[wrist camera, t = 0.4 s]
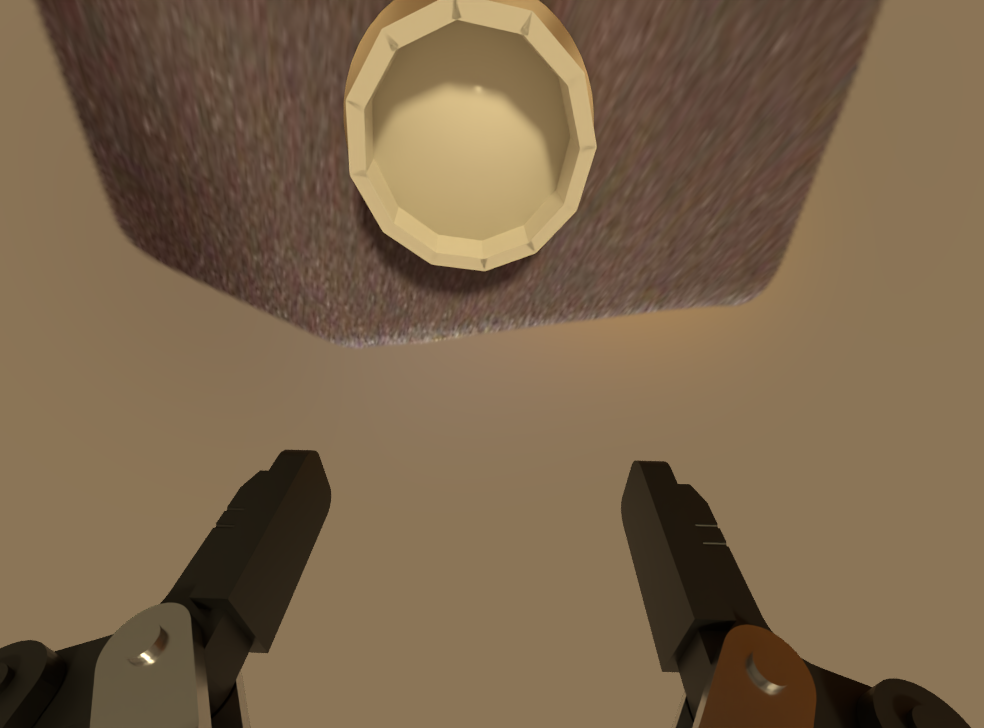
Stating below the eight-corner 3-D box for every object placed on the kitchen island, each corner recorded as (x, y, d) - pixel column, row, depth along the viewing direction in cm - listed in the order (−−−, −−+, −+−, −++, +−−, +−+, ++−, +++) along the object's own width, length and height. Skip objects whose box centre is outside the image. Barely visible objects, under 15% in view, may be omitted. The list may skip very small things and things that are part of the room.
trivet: (303, 160, 29) (300, 164, 28) (442, -122, 20) (441, -125, 20) (487, 287, 37) (487, 292, 36) (640, 122, 28) (644, 125, 28)
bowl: (320, 161, 28) (305, 179, 25) (446, -83, 21) (444, -95, 18) (486, 278, 35) (488, 302, 32) (623, 127, 28) (642, 141, 25)
